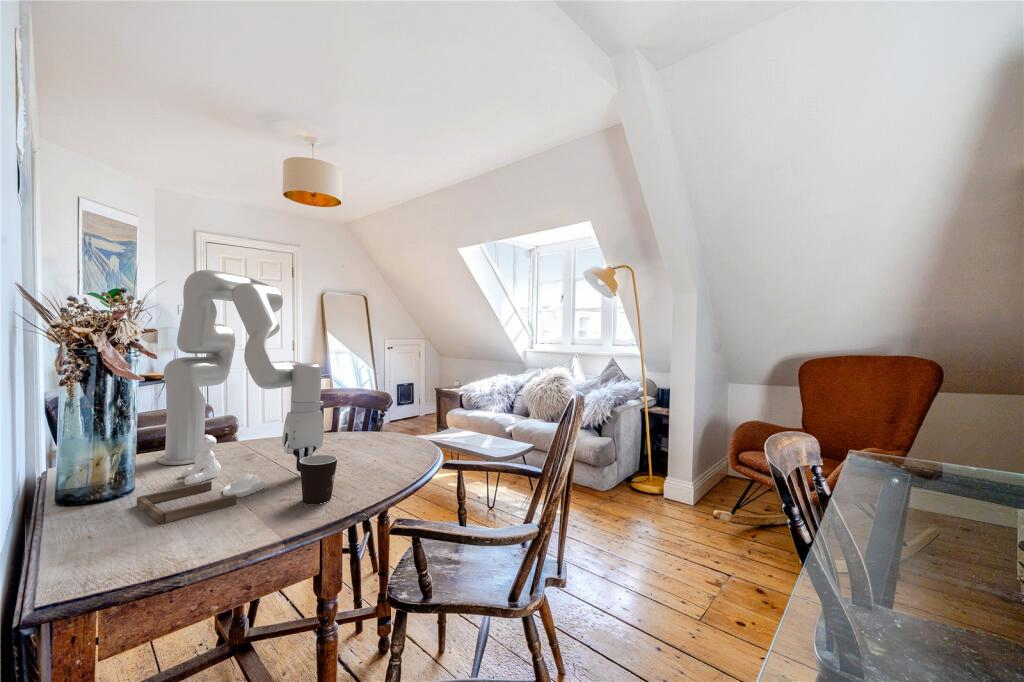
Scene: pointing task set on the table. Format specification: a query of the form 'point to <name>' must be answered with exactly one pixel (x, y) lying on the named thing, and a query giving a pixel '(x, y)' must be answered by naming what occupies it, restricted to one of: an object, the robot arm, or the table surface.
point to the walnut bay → (164, 517)
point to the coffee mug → (317, 478)
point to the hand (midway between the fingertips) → (302, 471)
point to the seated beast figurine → (203, 463)
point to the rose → (244, 486)
